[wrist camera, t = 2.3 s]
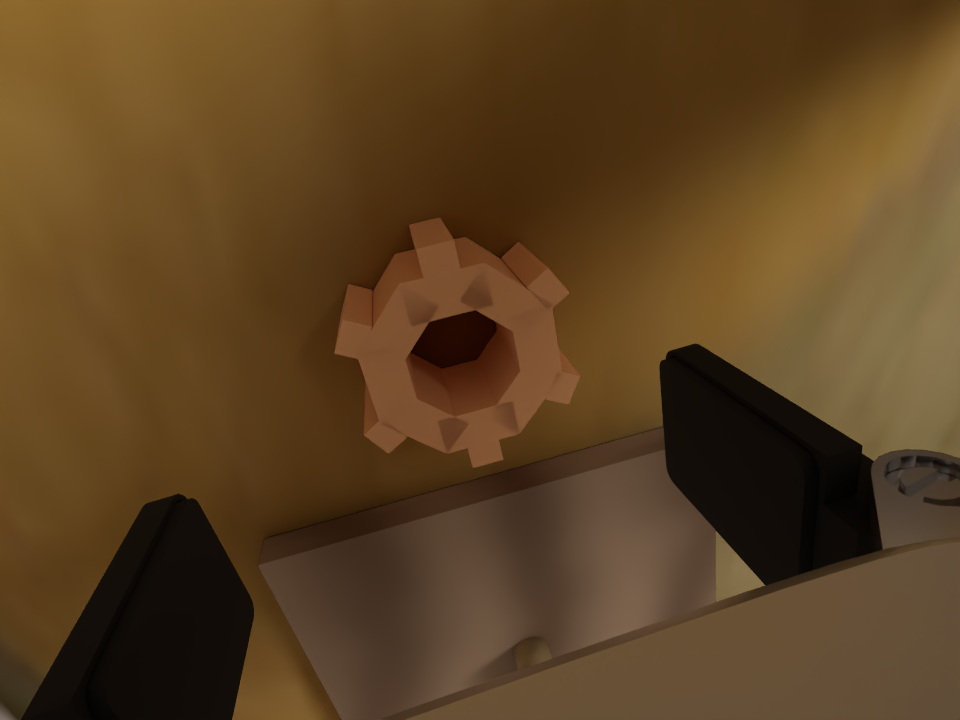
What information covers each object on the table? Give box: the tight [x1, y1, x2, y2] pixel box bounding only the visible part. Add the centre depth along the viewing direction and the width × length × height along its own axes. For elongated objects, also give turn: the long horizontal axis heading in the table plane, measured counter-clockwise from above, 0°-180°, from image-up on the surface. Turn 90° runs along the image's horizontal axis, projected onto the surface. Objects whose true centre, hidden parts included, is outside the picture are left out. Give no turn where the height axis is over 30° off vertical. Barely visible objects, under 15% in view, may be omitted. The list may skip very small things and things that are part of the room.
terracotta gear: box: [334, 217, 581, 468], centre depth 15 cm, size 6×6×3 cm
